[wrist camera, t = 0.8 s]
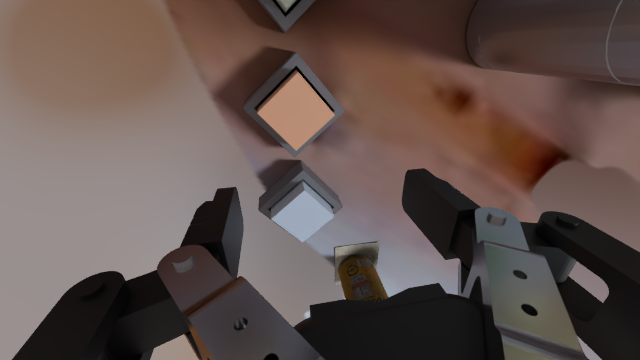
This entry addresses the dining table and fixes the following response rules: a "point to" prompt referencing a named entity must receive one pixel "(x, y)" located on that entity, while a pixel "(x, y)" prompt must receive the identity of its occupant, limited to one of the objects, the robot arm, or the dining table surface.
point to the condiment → (359, 272)
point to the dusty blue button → (301, 211)
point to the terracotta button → (295, 110)
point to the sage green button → (285, 4)
